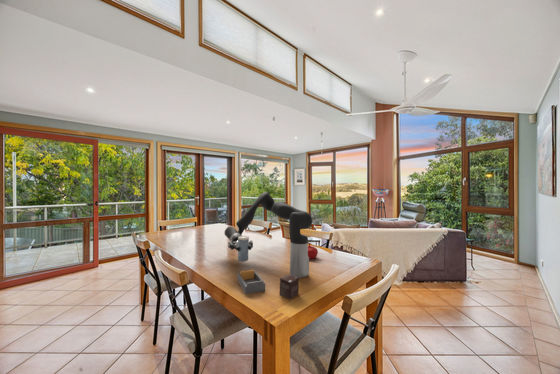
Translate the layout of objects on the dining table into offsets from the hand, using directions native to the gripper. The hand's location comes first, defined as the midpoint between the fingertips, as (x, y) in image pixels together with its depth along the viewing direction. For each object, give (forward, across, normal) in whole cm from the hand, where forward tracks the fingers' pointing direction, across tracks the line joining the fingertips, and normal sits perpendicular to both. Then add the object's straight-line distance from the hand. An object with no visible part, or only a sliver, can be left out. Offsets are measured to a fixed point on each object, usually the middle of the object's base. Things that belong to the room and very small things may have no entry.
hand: (244, 248), depth 117 cm
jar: (-3, 0, -7) cm, 7 cm away
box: (+27, -13, -14) cm, 33 cm away
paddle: (+6, 0, -13) cm, 15 cm away
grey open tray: (+12, 0, -14) cm, 18 cm away
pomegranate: (-13, -47, -14) cm, 51 cm away
